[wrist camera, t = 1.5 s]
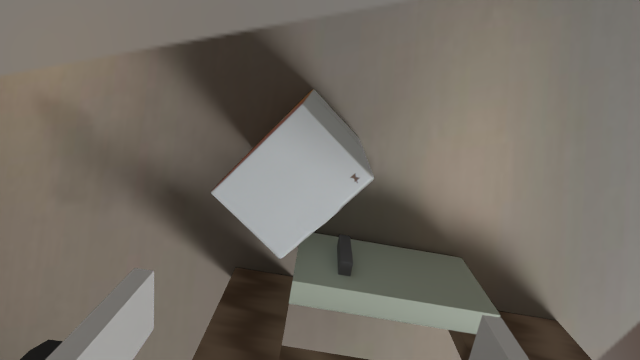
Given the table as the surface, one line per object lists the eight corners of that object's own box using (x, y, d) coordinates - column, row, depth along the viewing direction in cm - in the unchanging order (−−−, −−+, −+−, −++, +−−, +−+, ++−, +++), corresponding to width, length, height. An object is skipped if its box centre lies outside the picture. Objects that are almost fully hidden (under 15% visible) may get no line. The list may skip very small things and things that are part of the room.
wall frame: (234, 281, 39) (185, 390, 26) (235, 266, 39) (187, 369, 26) (551, 333, 40) (659, 465, 27) (557, 319, 40) (670, 446, 26)
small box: (313, 87, 33) (303, 99, 21) (361, 138, 35) (378, 179, 22) (250, 148, 35) (206, 193, 23) (298, 195, 36) (281, 263, 24)
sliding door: (298, 248, 37) (288, 303, 29) (303, 219, 37) (294, 266, 28) (455, 275, 38) (492, 337, 29) (464, 247, 37) (505, 301, 28)
